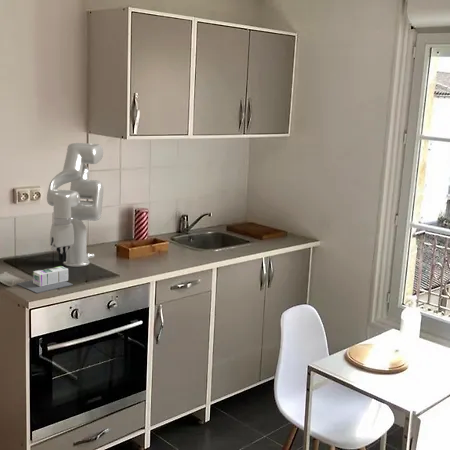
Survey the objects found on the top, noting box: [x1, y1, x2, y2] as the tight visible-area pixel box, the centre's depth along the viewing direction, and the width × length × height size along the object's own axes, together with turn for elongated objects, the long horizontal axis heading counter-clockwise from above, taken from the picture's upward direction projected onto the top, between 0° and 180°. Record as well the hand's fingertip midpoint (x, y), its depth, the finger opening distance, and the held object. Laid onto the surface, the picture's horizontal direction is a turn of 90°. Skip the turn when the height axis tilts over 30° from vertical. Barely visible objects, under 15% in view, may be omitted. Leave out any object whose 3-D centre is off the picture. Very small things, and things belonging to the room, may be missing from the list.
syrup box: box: [32, 265, 69, 287], centre depth 274 cm, size 6×6×14 cm
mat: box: [16, 279, 74, 294], centre depth 273 cm, size 18×16×1 cm
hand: (62, 261), depth 277 cm, fingers closed
